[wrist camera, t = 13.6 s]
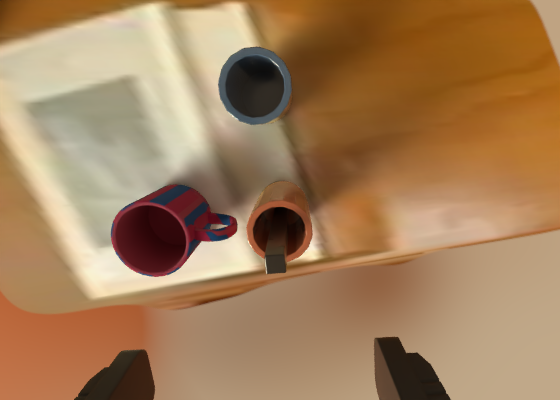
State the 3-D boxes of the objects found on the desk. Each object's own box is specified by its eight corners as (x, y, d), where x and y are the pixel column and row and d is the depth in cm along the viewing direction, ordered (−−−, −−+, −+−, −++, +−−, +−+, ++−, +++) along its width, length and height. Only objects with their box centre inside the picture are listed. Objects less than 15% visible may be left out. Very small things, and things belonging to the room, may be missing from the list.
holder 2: (248, 207, 32) (233, 235, 24) (279, 170, 31) (274, 187, 23) (285, 237, 32) (283, 274, 25) (317, 202, 31) (325, 228, 23)
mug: (147, 181, 31) (108, 197, 25) (245, 189, 31) (232, 207, 25) (148, 243, 33) (112, 273, 26) (242, 251, 33) (229, 283, 26)
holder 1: (227, 99, 29) (204, 92, 21) (261, 55, 28) (249, 29, 20) (268, 134, 30) (260, 139, 22) (303, 92, 29) (306, 81, 21)
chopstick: (277, 212, 31) (266, 274, 18) (276, 201, 31) (264, 255, 18) (289, 211, 31) (286, 273, 18) (288, 200, 31) (284, 254, 18)
